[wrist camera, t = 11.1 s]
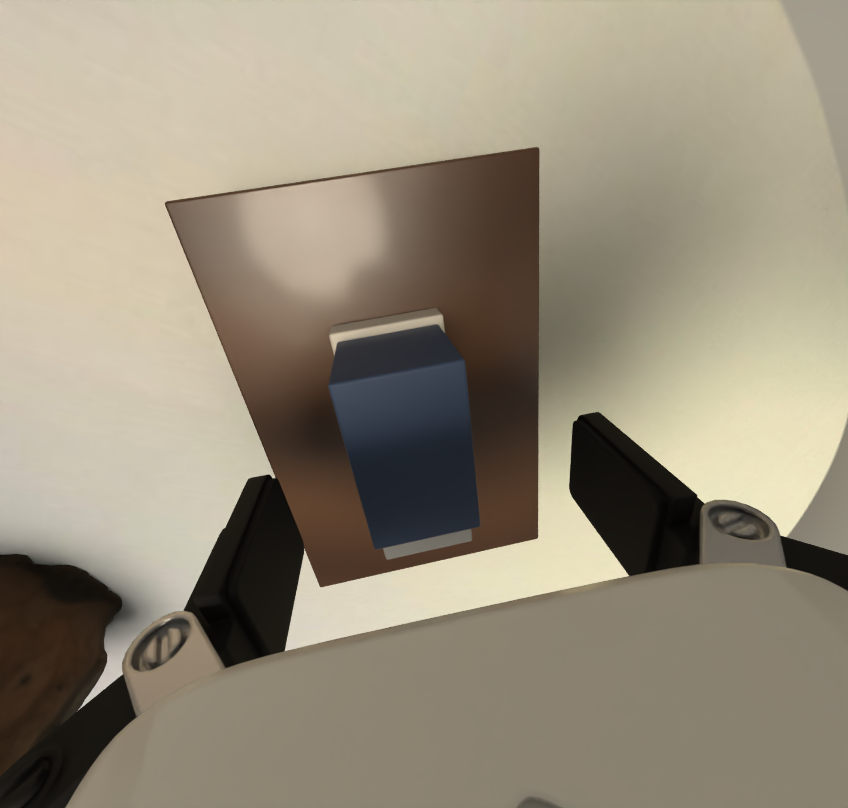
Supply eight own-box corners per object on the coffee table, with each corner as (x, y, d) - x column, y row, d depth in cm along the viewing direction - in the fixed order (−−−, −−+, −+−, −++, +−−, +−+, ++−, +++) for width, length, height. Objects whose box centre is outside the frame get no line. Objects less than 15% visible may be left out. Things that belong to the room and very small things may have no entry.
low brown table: (223, 207, 16) (162, 201, 11) (488, 168, 17) (540, 146, 12) (328, 513, 24) (319, 588, 19) (503, 476, 25) (538, 538, 20)
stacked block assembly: (330, 325, 14) (315, 375, 9) (437, 307, 14) (472, 346, 9) (378, 509, 18) (383, 605, 13) (459, 491, 18) (491, 580, 14)
